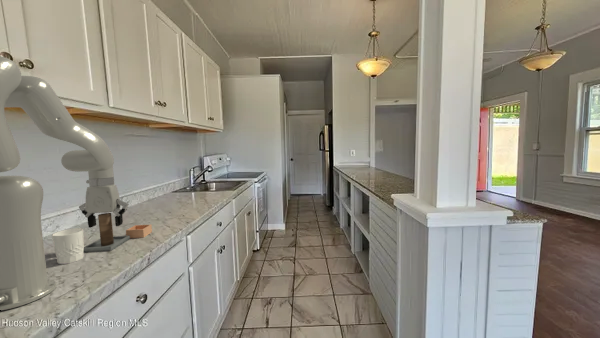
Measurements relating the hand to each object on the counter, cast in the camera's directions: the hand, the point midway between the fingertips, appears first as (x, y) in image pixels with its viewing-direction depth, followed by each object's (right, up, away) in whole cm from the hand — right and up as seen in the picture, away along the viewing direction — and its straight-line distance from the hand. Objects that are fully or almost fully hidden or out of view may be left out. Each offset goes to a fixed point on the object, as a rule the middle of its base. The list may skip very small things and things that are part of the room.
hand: (105, 225), depth 96 cm
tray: (0, -8, +1) cm, 8 cm away
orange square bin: (+6, -7, +12) cm, 15 cm away
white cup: (-4, -10, -11) cm, 15 cm away
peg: (0, -7, +1) cm, 7 cm away
